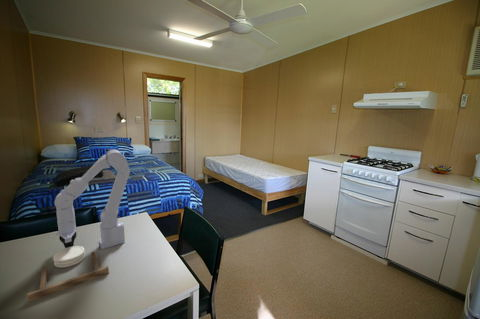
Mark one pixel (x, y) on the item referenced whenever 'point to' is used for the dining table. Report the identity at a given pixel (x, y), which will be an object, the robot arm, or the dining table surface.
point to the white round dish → (69, 256)
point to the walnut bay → (66, 281)
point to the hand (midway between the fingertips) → (69, 249)
